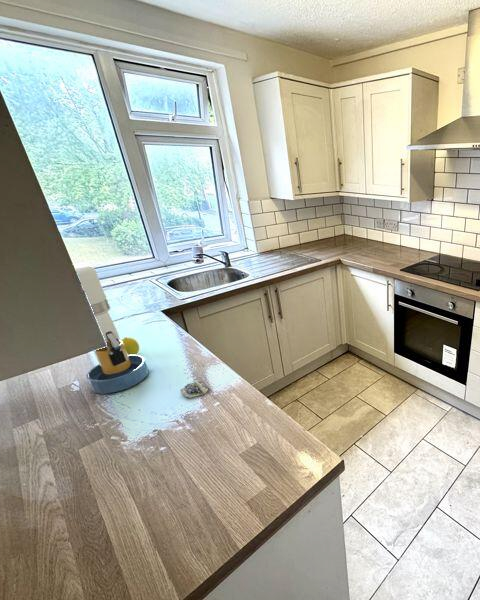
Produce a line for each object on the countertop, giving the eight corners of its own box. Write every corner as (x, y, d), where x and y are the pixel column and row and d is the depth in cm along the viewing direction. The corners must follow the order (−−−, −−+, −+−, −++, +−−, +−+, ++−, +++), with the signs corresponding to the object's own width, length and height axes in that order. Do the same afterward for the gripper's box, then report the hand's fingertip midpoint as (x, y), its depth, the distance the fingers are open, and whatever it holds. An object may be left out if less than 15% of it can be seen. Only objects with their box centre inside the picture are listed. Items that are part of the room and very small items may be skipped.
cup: (109, 377, 98) (99, 354, 94) (99, 370, 101) (89, 348, 98) (135, 365, 103) (126, 343, 100) (125, 359, 106) (116, 337, 103)
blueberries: (194, 381, 103) (192, 376, 103) (215, 385, 101) (213, 380, 101) (175, 395, 97) (173, 390, 97) (197, 400, 95) (196, 394, 95)
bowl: (105, 401, 95) (98, 387, 93) (84, 385, 101) (78, 372, 99) (157, 375, 106) (152, 362, 104) (136, 362, 112) (131, 350, 110)
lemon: (145, 355, 116) (138, 336, 113) (127, 363, 112) (119, 343, 109) (137, 351, 119) (130, 332, 116) (119, 358, 115) (111, 339, 111)
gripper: (62, 305, 94) (86, 357, 102) (88, 319, 86) (112, 375, 94) (94, 296, 100) (115, 346, 108) (121, 309, 92) (141, 361, 100)
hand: (113, 359), depth 101 cm, fingers closed on cup, 6 cm apart
